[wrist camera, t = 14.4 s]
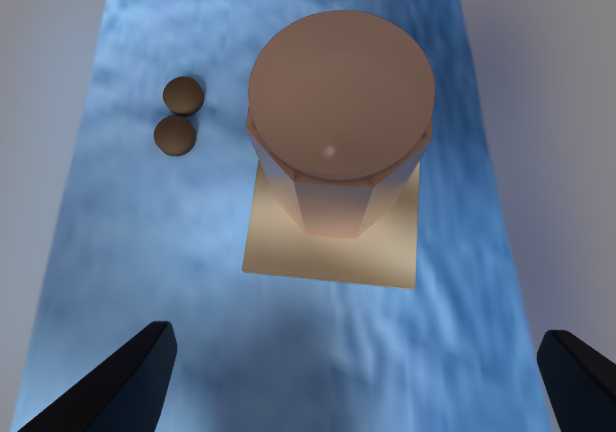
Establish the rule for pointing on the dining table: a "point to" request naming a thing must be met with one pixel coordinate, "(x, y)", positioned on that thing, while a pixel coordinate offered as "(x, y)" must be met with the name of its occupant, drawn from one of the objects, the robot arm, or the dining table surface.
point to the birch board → (334, 243)
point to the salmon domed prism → (340, 118)
